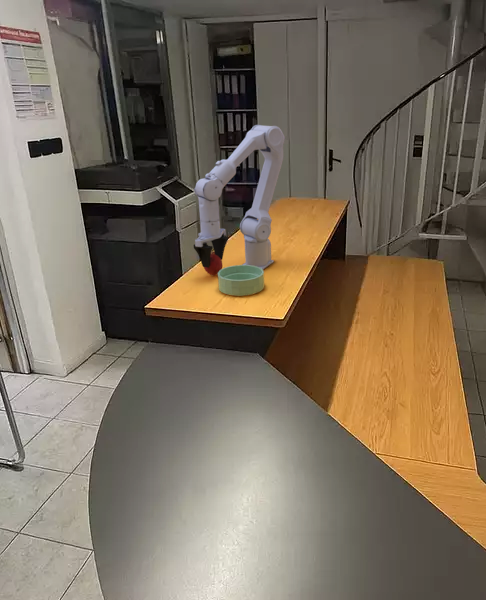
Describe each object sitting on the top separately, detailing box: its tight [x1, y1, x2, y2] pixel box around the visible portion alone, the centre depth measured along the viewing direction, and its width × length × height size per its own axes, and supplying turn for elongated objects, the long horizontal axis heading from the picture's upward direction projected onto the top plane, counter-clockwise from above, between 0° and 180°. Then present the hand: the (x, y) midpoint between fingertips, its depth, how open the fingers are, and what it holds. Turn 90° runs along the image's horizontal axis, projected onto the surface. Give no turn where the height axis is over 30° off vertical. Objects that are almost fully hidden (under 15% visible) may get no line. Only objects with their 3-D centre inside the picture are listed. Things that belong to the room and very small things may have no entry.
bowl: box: [217, 264, 265, 297], centre depth 141 cm, size 13×13×5 cm
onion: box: [203, 250, 223, 277], centre depth 150 cm, size 6×6×8 cm
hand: (212, 263), depth 150 cm, fingers open, 7 cm apart
